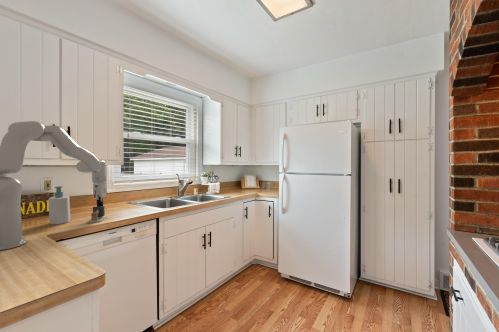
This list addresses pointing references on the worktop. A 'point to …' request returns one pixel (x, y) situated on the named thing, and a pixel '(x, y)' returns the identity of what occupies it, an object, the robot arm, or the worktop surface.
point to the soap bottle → (59, 208)
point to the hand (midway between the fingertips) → (100, 207)
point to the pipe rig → (96, 217)
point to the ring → (101, 208)
